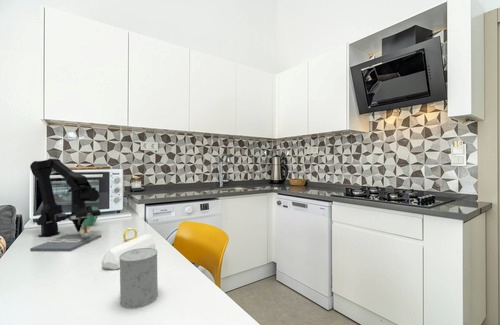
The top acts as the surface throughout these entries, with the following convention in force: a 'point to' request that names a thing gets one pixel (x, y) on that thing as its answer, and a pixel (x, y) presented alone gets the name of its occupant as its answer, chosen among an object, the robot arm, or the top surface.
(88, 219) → the mug
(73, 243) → the panel
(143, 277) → the grey concrete cylinder
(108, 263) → the white long bar
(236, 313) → the top surface
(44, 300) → the top surface
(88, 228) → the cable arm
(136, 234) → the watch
